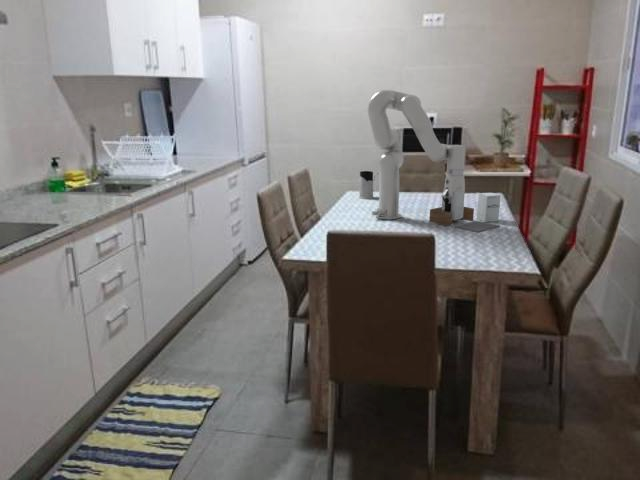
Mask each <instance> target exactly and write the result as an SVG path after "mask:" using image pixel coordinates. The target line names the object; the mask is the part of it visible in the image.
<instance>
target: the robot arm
mask: <svg viewBox="0 0 640 480" xmlns="http://www.w3.org/2000/svg"><path fill="white" fill-rule="evenodd" d="M367 106H368V107H367V113H368V115H367V116H368V118H369V122H370V123H369V124H370V127H371V132H372V135H373V139H374V144H375V146H376V147H377V148H378V149H380V150H381V151H382V154H381V156H380V157H379V161H378V173H379V174H378V175H379V178H378V179H379V180H378V183H379V186H378V187H379V188H378V189H379V191H378V196H379V197H378V207H377V210H374V211H372V212H371V215H372V216H375V218H377V219H379V220H391V219H393V220H399V219H401V218H402V214H401V213H400V212H399V206H400V205H399V204H400V203H399V202H400V168H401V167H402V166H403V164H404V161H405V159H404V153H403V150H402V145H401V140H400V137H399V135H398V133H397V132H396V130H394V129H392V128H391V125H390V121H389V117H388V115H387V110H388V109H389V110H395V111H399V112H402V114H403V116H404V117H405V119H406V121H407V122H408V124H409V125H410V127H411V128H412V130H413V131H414V133H415V136H416V138H417V139H418V141H419V144H420V146H421V147H422V149H423V150H424V152H425V153H426V155H427V157H428V158H429V159H430V160H431V161H433V162H435V163H440V162H442V161H444V160H447V161H446V176H445V180H444V185H443V187H444V188H443V190H444V193H443V192H442V194H441V198H443V200H444V203H445V211H446V212H451V203H450V202H451V199H452V198H454V193H455V192H457V191H465V192H466V183H465V182H466V180H465V174H464V170H465V156H466V155H465V154H466V147H465V145H462V144H445V143H441V142H440V140H438V138H437V135H436V134H435V131H434V129H433V123H432V121H431V119H430V117H429V116H428V114H427V113H426V111H425V109H424V108H423V107H422V102H421V98H420V97H418V96H417V95H415V94H409V93H404V92H401V91H396V90H391V89H381V90H379V91H377V92H376V93H374V95H372V97H371V99H370V100H369V102H368V105H367ZM447 195H449V196H447ZM448 198H449V200H448Z"/></svg>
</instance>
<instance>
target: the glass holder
mask: <svg viewBox="0 0 640 480" xmlns="http://www.w3.org/2000/svg"><path fill="white" fill-rule="evenodd" d="M377 175H379V172H376V173H375V174H374V172H373V171H369V170H362V171H359V195H358V198H359V199H362V200H372V199H374V191H375V190H376V189H377V188H378V187H379V182H378V183H377V185H376V186H375V188H374V181H375V180H376V176H377Z"/></svg>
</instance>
